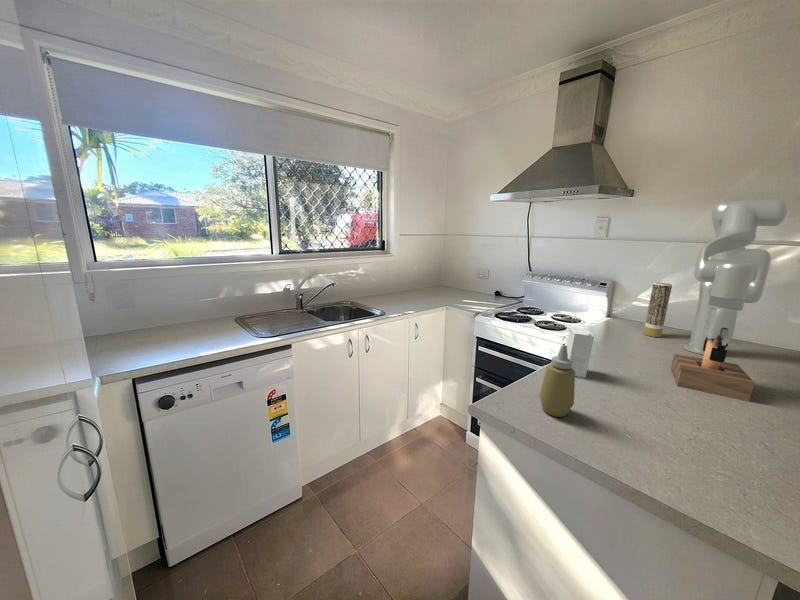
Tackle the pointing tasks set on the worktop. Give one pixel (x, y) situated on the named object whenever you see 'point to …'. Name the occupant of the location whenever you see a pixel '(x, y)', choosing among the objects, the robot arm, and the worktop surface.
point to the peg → (706, 359)
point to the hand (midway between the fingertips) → (712, 356)
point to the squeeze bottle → (558, 385)
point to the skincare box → (579, 349)
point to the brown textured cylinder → (657, 309)
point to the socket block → (712, 377)
